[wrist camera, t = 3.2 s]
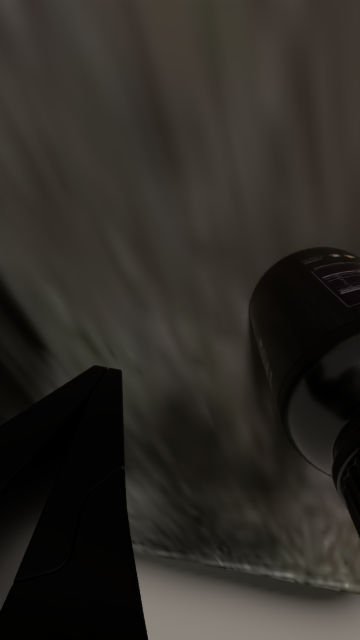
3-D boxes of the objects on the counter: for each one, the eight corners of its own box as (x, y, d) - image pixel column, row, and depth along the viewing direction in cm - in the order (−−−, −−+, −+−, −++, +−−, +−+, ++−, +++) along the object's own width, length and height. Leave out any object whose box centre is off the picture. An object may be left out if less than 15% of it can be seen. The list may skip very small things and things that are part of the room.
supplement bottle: (341, 357, 18) (533, 632, 7) (236, 340, 18) (274, 585, 7) (396, 252, 14) (907, 483, 4) (266, 233, 14) (414, 403, 4)
